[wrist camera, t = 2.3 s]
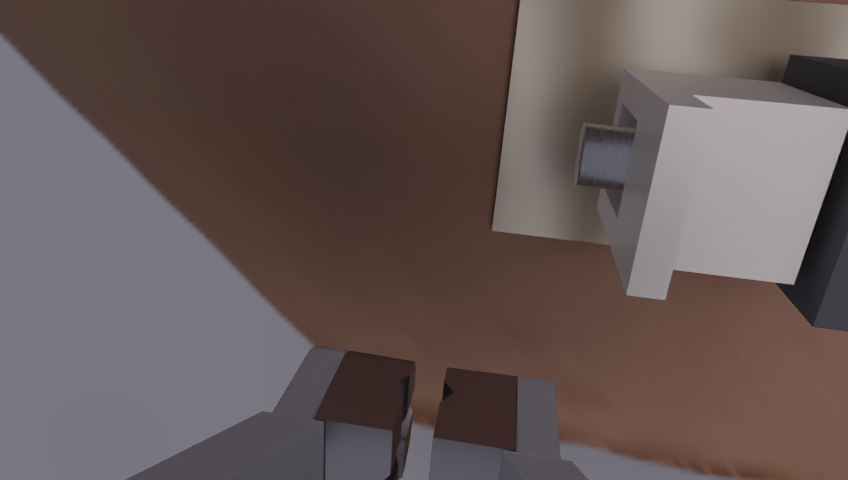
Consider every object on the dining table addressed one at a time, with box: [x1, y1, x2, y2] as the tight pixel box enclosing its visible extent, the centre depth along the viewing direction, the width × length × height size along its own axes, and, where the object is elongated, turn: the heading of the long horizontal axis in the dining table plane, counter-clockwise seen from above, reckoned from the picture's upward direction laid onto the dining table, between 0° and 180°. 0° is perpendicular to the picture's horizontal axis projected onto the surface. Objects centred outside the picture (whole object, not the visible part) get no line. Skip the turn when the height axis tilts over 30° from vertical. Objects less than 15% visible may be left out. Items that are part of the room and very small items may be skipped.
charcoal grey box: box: [776, 55, 848, 331], centre depth 22 cm, size 3×8×8 cm, turn 175°
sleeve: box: [597, 68, 848, 300], centre depth 22 cm, size 6×6×8 cm
